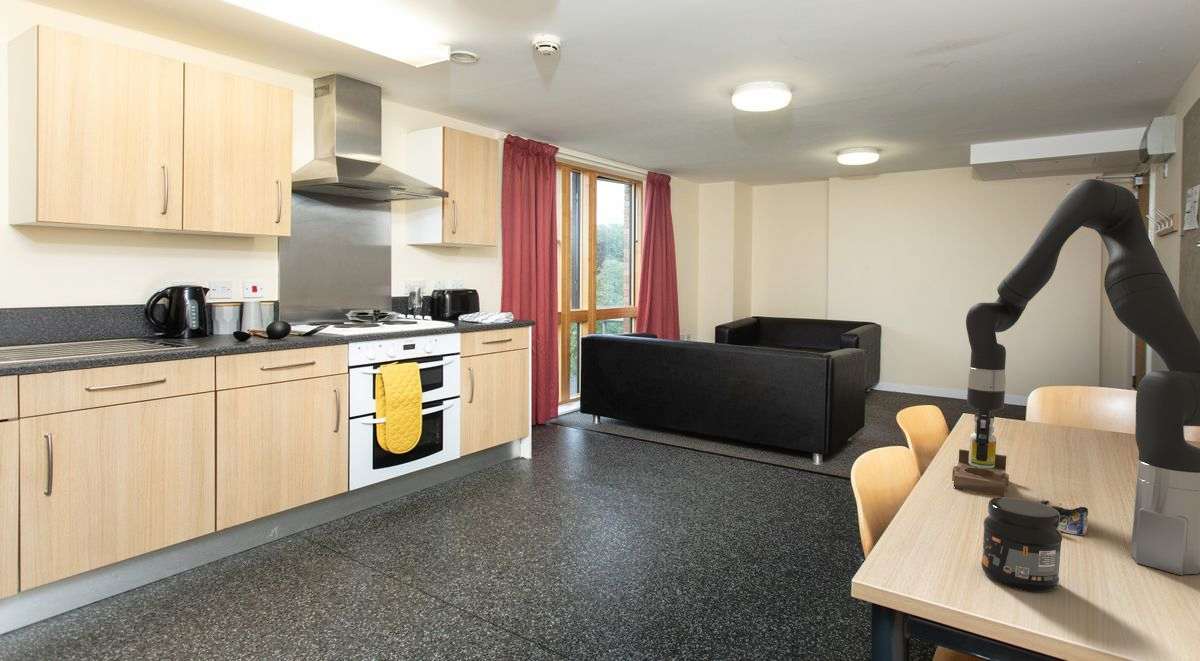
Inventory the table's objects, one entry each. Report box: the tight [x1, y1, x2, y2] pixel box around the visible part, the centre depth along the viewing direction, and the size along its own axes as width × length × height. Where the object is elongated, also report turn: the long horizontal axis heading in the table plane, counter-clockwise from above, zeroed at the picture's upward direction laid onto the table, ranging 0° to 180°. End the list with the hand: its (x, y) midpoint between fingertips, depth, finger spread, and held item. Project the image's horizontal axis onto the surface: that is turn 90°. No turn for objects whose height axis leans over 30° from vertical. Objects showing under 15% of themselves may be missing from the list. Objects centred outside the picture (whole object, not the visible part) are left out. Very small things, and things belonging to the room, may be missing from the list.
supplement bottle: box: [968, 424, 997, 469], centre depth 150 cm, size 5×5×10 cm
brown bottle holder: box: [951, 448, 1010, 497], centre depth 151 cm, size 15×11×6 cm
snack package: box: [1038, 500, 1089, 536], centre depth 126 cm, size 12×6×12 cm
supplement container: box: [980, 496, 1063, 593], centre depth 101 cm, size 10×10×12 cm
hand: (981, 457), depth 150 cm, fingers closed on supplement bottle, 5 cm apart
